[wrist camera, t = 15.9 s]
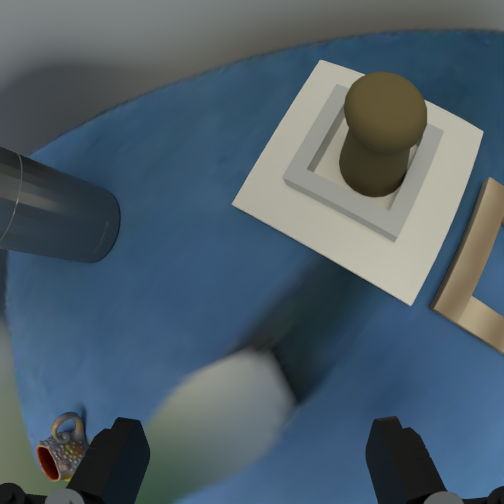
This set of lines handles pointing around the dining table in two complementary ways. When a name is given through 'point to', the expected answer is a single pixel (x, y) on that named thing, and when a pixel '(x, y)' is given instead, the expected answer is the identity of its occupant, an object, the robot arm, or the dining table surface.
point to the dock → (351, 202)
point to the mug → (62, 449)
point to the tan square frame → (474, 271)
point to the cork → (380, 132)
